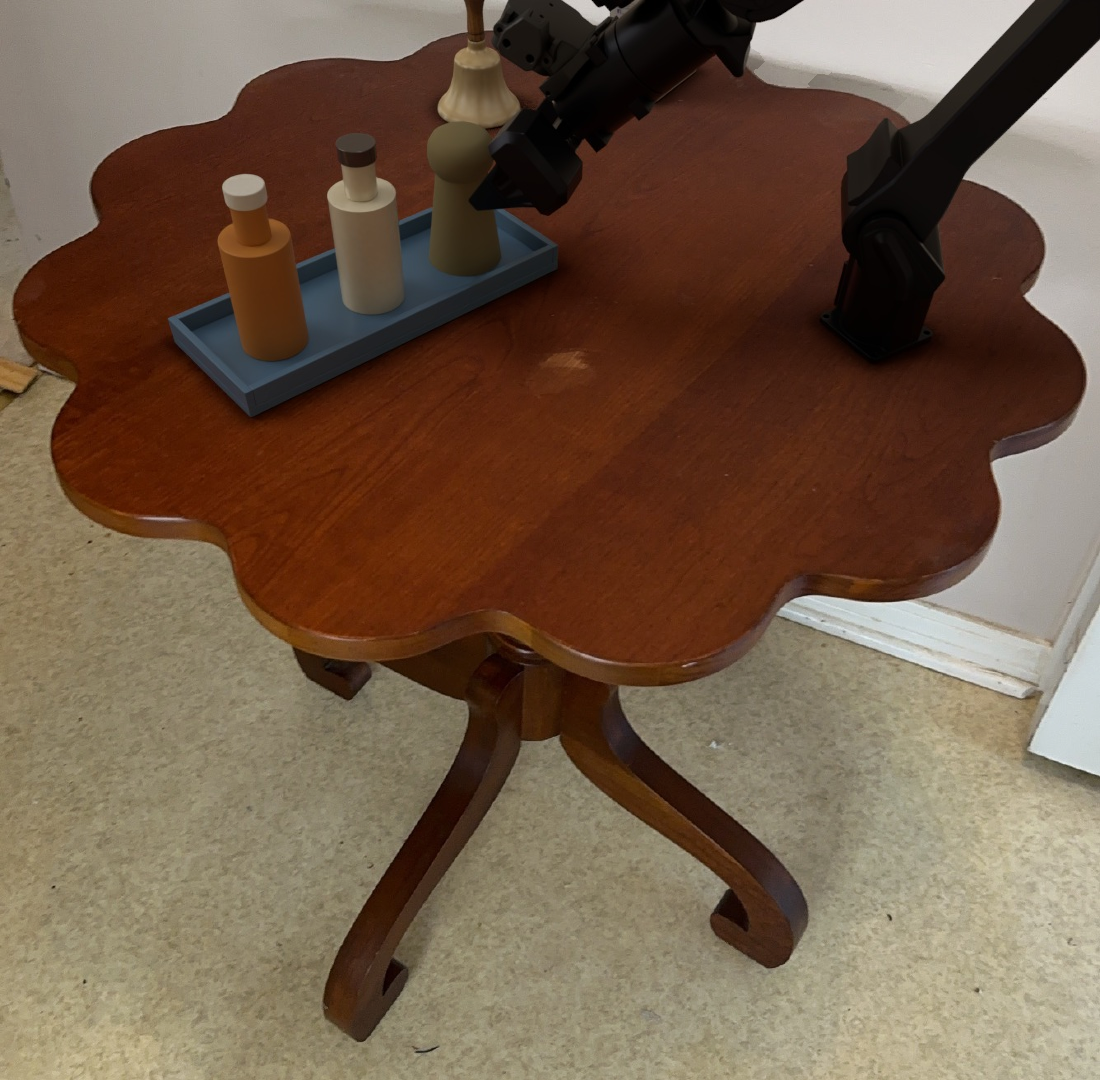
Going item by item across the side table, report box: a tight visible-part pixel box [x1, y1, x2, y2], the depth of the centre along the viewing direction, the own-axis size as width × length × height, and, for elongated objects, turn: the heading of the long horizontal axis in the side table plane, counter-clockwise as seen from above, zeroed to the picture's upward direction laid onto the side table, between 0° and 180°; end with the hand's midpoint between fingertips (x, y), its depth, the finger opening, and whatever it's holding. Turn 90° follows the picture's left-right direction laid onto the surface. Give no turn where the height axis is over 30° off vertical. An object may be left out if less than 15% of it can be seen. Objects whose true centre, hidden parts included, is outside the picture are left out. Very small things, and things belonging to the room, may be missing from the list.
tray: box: [167, 206, 559, 418], centre depth 87 cm, size 29×11×2 cm, turn 131°
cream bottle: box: [326, 132, 405, 315], centre depth 82 cm, size 5×5×13 cm
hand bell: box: [437, 0, 521, 130], centre depth 103 cm, size 8×8×16 cm
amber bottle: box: [217, 173, 309, 361], centre depth 78 cm, size 5×5×13 cm
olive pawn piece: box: [426, 121, 501, 276], centre depth 87 cm, size 6×6×11 cm
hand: (494, 175), depth 84 cm, fingers open, 9 cm apart
